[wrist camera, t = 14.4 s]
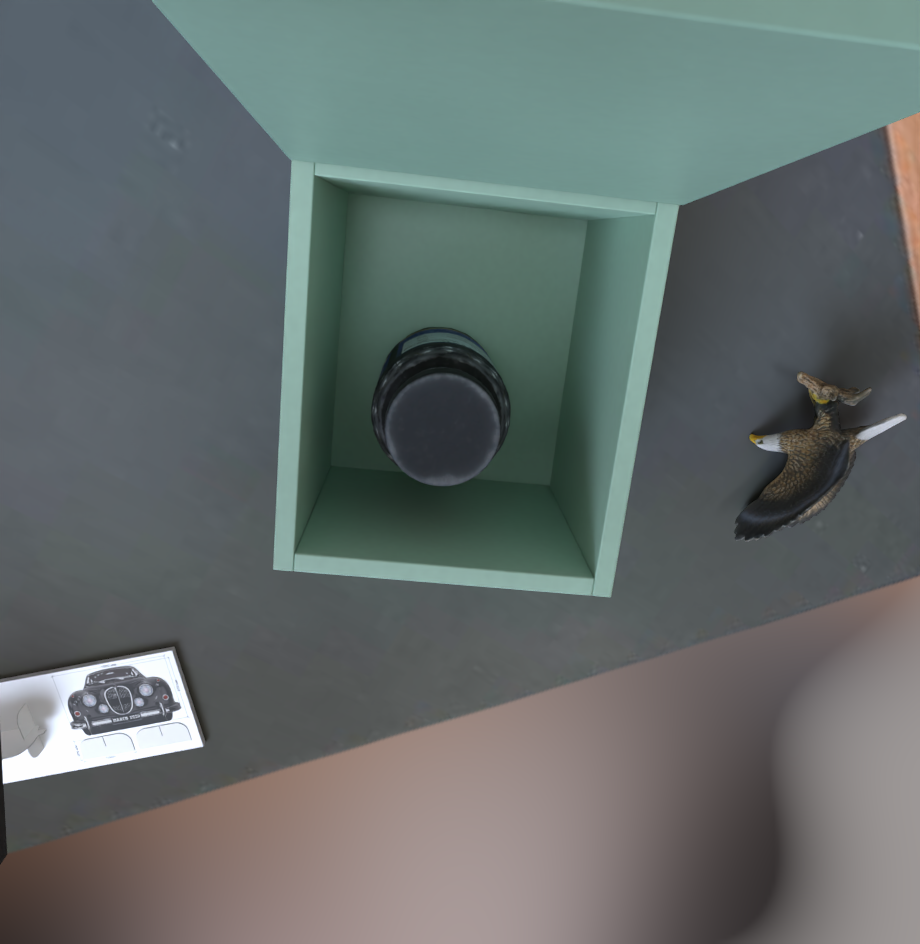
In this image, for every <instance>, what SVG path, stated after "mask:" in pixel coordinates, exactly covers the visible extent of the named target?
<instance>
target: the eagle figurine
mask: <svg viewBox="0 0 920 944" xmlns="http://www.w3.org/2000/svg"><path fill="white" fill-rule="evenodd" d="M797 381H798V382H800V383H802V384H804V385H805V386H806V387H807V388H808V389H809V392H810V393H809V396H810V398H811V400H812V403H813V404H814V411H815V416H814V424H813V426H812V427H811V428H810V429H794V430H788V431H785V432H781V433H777V434H774V435H764V436H757V435H753V434H750V436H749V438H750V440H751V441H752V442H753V443H755V444H756V445H757V446H758V447H760V448H762V449H765V450H768V451H775V452H782V453H788V459H787V463H786V466H785V468H784V470H783V471H782V473H781V474H780V475H779V476H778V477H777V478H776V479H775V480H773V481H772V482H771V483H770V484H769V485H767V486H766V488H765V489H764V490H763V491H762V493H761V495H760V497H759V498H758V499H757V500H756V501H754V502H752V503H751V504H750V505H748V506H747V507H746V508H745V509H744V510H743V511H742V512H741V513H740V515H739V516H738V517H737V519H736V521H735V523H736V525H737V527H736V529H735V531H734V533H735V534H736V537H735V540H742V539H743V538H745V541H746V542H748V541H751V540H753V539H755V540H758V539H760V538H761V537H762V536H765V537H768V536H770V535H771V534H772V533H773V532H778V531H780V530H782V529H783V528H784V527H787V526H788V527H793V526H794V525H796V524H797V523H799V524H801V523H804V522H805V521H807V520H810V519H811V518H812V517H813V516H816V515H817V514H819V513H820V511H821V510H824V509H825V508H826V507H827V505H828V504H829V503H830V502H831V501H832V500H833V499H834V498H835V496H836V493H838V492H839V491H840V489H841V487H843V485H844V483H845V480H846V479H847V478H848V476H849V474H850V472H851V469H852V467H853V466H854V461H855V459H856V456H855V455H856V452H855V449H856V448H857V447H859V446H860V445H861V444H863V443H864V442H866V441H867V440H869V439H870V438H872V437H874V436H876V435H877V434H879V433H881V432H883V431H885V430H887V429H888V428H890V427H892V426H894V425H896V424H898V423H900V422H901V421H903V420H905V419H906V418H907V416H906V415H904V414H898V415H895V416H893V417H888V418H885V419H883V420H881V421H878V422H876V423H874V424H871V425H869V426H860V427H857V428H850V429H844V430H841V429H840V424H839V418H838V415H839V412H838V405H839V402H838V401H840V402H843V403H845V404H847V405H851V406H854V405H856V404H857V403H858V402H859V401H860V400H862V399H864V398H865V397H867V396H868V395H869V394H870V393H871V391H872V388H871V387H869V388H867V389H865V390H864V391H862V392H860V390H859V389H858V388H856V387H852V388H850V389H845V388H837V387H836V386H835V385H832V384H827V383H825V382H823V381H822V380H820V379H818V378H815V377H812V376H809V375H808V374H806V373H804V372H798V374H797ZM859 392H860V393H859Z"/></svg>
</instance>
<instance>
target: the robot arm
mask: <svg viewBox="0 0 920 944" xmlns="http://www.w3.org/2000/svg"><path fill="white" fill-rule="evenodd" d="M6 855H7V844H6V826H5V808H4V789H3V771H2V753H1V734H0V864H1V863H2V861H3V859H4V858H5V857H6Z"/></svg>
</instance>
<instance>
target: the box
mask: <svg viewBox="0 0 920 944" xmlns="http://www.w3.org/2000/svg"><path fill="white" fill-rule="evenodd" d="M678 210H679V205H677V204H668V203H660V202H651V201H643V200H634V199H625V198H617V197H608V196H600V195H591V194H583V193H574V192H565V191H557V190H548V189H540V188H531V187H523V186H514V185H505V184H497V183H488V182H480V181H471V180H463V179H454V178H445V177H437V176H428V175H420V174H411V173H402V172H394V171H385V170H377V169H368V168H360V167H351V166H342V165H334V164H325V163H317V162H308V161H300V160H292V165H291V187H290V209H289V231H288V253H287V275H286V297H285V319H284V341H283V363H282V385H281V408H280V430H279V452H278V474H277V496H276V518H275V540H274V562H273V569H274V570H284V571H293V570H294V571H298V572H310V573H322V574H334V575H347V576H359V577H371V578H383V579H395V580H408V581H420V582H432V583H444V584H456V585H469V586H481V587H493V588H505V589H517V590H530V591H542V592H554V593H566V594H578V595H593V596H602V597H611V594H612V589H613V583H614V577H615V571H616V566H617V560H618V554H619V548H620V543H621V537H622V531H623V525H624V520H625V514H626V508H627V502H628V497H629V491H630V485H631V480H632V474H633V468H634V462H635V457H636V451H637V445H638V439H639V434H640V428H641V422H642V416H643V411H644V405H645V399H646V393H647V388H648V382H649V376H650V370H651V365H652V359H653V353H654V347H655V342H656V336H657V330H658V325H659V319H660V313H661V307H662V302H663V296H664V290H665V284H666V279H667V273H668V267H669V261H670V256H671V250H672V244H673V238H674V233H675V227H676V221H677V215H678ZM427 327H445V328H453V329H456V330H458V331H461V332H463V333H466V334H468V335H469V336H470V337H472V338H473V339H474V340H475V341H477V342H478V343H479V344H480V345H481V346H482V347H483V349H484V350H485V351H486V353H487V354H488V356H489V358H490V359H491V361H492V363H493V364H494V366H495V368H496V370H497V371H498V373H499V375H500V376H501V378H502V380H503V383H504V385H505V387H506V389H507V392H508V394H509V399H510V405H511V415H510V426H509V428H508V433H507V436H506V438H505V440H504V443H503V445H502V446H501V448H500V450H499V451H498V452H497V454H496V455H495V456H494V458H493V459H492V460H491V461H490V463H489V464H488V466H487V467H486V468H485V469H484V470H483V471H482V472H481V473H479V474H478V475H477V476H475V477H474V478H472V479H470V480H468V481H466V482H464V483H460V484H457V485H453V486H434V485H428V484H424V483H422V482H419V481H417V480H415V479H413V478H411V477H410V476H408V475H407V474H406V473H405V472H404V471H402V470H401V469H400V468H399V467H398V466H397V465H395V464H394V462H392V461H391V460H390V459H389V458H388V457H387V455H386V454H385V452H384V451H383V450H382V448H381V447H380V445H379V442H378V441H377V438H376V436H375V433H374V431H373V425H372V420H371V406H372V400H373V395H374V392H375V388H376V386H377V383H378V380H379V377H380V373H381V371H382V368H383V365H384V363H385V361H386V358H387V356H388V354H389V353H390V352H391V350H392V349H393V348H394V347H395V346H396V345H397V344H398V343H399V342H400V341H402V340H403V339H404V338H406V337H407V336H408V335H410V334H411V333H414V332H416V331H418V330H421V329H423V328H427Z"/></svg>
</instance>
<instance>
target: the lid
mask: <svg viewBox="0 0 920 944" xmlns="http://www.w3.org/2000/svg"><path fill="white" fill-rule="evenodd" d="M152 2H153V3H154V4H155V5H156V6H157V7H158V8H159V10H160V11H161V12H162V13H163V14H164V15H165V16H166V18H167V19H168V20H169V21H170V22H171V23H172V24H173V26H174V27H175V28H176V29H177V30H178V31H179V33H180V34H181V35H182V36H183V37H184V38H185V39H186V41H187V42H188V43H189V44H190V45H191V46H192V47H193V49H194V50H195V51H196V52H197V53H198V54H199V55H200V57H201V58H202V59H203V60H204V61H205V62H206V64H207V65H208V66H209V67H210V68H211V69H212V70H213V72H214V73H215V74H216V75H217V76H218V77H219V78H220V80H221V81H222V82H223V83H224V84H225V85H226V86H227V88H228V89H229V90H230V91H231V92H232V93H233V95H234V96H235V97H236V98H237V99H238V100H239V101H240V103H241V104H242V105H243V106H244V107H245V108H246V109H247V111H248V112H249V113H250V114H251V115H252V116H253V117H254V119H255V120H256V121H257V122H258V123H259V124H260V126H261V127H262V128H263V129H264V130H265V131H266V132H267V134H268V135H269V136H270V137H271V138H272V139H273V140H274V142H275V143H276V144H277V145H278V146H279V147H280V148H281V150H282V151H283V152H284V153H285V154H286V155H287V157H288V158H289V159H291V160H300V161H308V162H317V163H325V164H334V165H342V166H351V167H360V168H368V169H377V170H385V171H394V172H402V173H411V174H420V175H428V176H437V177H445V178H454V179H463V180H471V181H480V182H488V183H497V184H505V185H514V186H523V187H531V188H540V189H548V190H557V191H565V192H574V193H583V194H591V195H600V196H608V197H617V198H625V199H634V200H643V201H651V202H660V203H668V204H677V205H685V204H687V203H690V202H692V201H695V200H697V199H700V198H703V197H705V196H708V195H710V194H713V193H715V192H718V191H720V190H723V189H725V188H728V187H731V186H733V185H736V184H738V183H741V182H743V181H746V180H748V179H751V178H753V177H756V176H759V175H761V174H764V173H766V172H769V171H771V170H774V169H776V168H779V167H781V166H784V165H787V164H789V163H792V162H794V161H797V160H799V159H802V158H804V157H807V156H809V155H812V154H814V153H817V152H820V151H822V150H825V149H827V148H830V147H832V146H835V145H837V144H840V143H842V142H845V141H848V140H850V139H853V138H855V137H858V136H860V135H863V134H865V133H868V132H870V131H873V130H876V129H878V128H881V127H883V126H886V125H888V124H891V123H893V122H896V121H898V120H901V119H904V118H906V117H909V116H911V115H914V114H916V113H919V112H920V0H152Z"/></svg>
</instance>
